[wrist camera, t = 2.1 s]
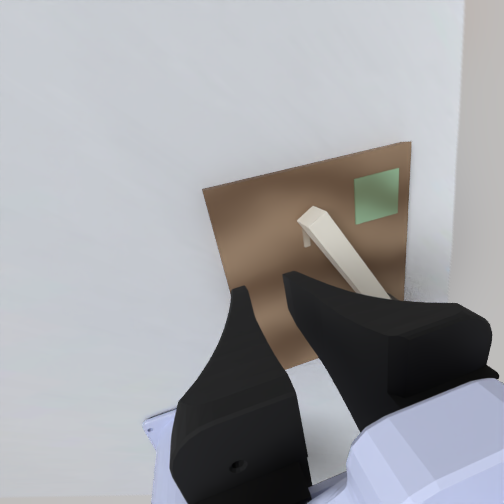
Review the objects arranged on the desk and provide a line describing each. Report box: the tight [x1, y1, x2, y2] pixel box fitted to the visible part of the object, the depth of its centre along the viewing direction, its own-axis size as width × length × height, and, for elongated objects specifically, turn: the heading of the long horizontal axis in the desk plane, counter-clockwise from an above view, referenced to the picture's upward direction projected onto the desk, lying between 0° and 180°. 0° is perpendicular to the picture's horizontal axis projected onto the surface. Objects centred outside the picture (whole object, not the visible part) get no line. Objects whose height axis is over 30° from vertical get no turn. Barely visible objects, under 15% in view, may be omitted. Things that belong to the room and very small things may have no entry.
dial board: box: [202, 142, 411, 370], centre depth 22 cm, size 18×16×1 cm
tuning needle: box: [297, 206, 398, 300], centre depth 20 cm, size 14×3×3 cm, turn 42°
